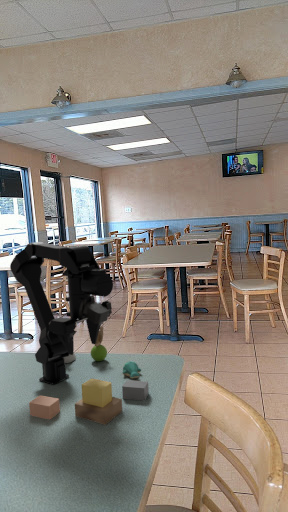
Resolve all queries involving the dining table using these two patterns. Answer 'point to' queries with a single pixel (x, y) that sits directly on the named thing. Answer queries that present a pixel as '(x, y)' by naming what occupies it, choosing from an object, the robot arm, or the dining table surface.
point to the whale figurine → (131, 369)
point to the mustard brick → (97, 392)
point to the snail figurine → (99, 348)
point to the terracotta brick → (44, 407)
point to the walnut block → (99, 411)
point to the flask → (69, 358)
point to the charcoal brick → (135, 390)
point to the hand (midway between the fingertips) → (83, 349)
